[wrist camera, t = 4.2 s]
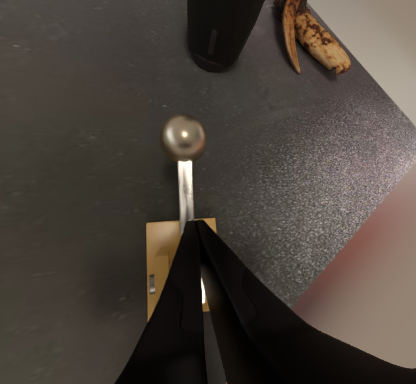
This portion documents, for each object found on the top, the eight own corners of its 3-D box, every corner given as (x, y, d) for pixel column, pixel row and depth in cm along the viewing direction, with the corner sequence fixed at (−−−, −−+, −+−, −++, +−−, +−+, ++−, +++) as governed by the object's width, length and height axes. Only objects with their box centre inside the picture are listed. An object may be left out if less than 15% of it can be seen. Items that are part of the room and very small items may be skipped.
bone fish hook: (247, 19, 32) (313, 96, 30) (258, -17, 27) (336, 73, 26) (284, 2, 34) (346, 73, 33) (300, -33, 29) (373, 48, 28)
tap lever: (159, 122, 15) (156, 104, 12) (202, 123, 16) (211, 107, 12) (167, 286, 16) (166, 316, 12) (207, 280, 17) (216, 307, 13)
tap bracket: (147, 223, 21) (131, 218, 13) (213, 218, 23) (236, 211, 14) (149, 316, 19) (131, 383, 11) (220, 304, 21) (252, 354, 13)
